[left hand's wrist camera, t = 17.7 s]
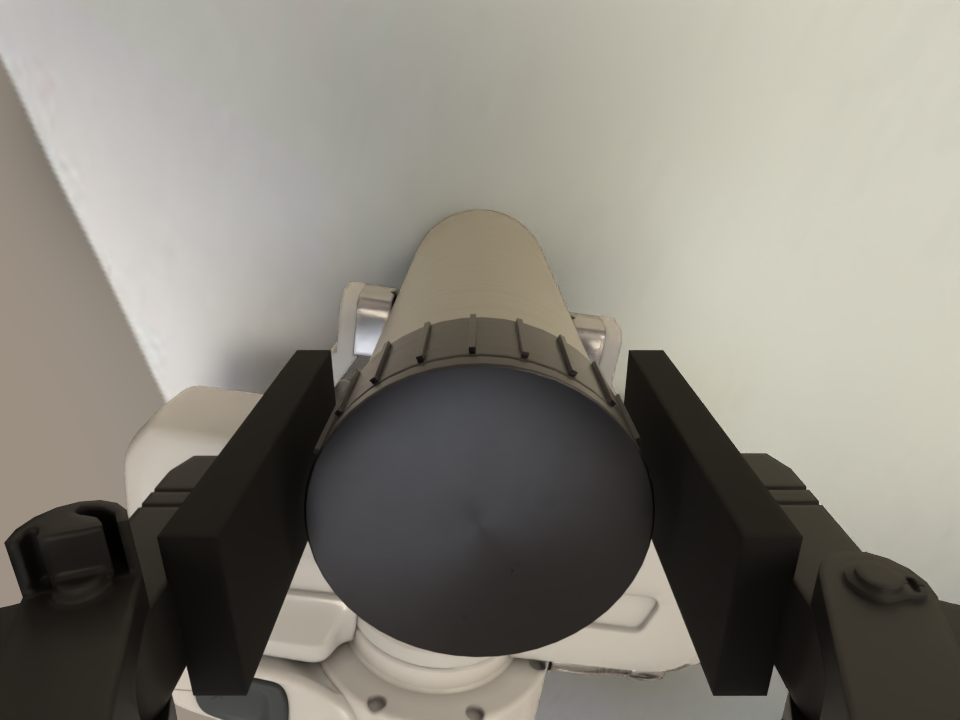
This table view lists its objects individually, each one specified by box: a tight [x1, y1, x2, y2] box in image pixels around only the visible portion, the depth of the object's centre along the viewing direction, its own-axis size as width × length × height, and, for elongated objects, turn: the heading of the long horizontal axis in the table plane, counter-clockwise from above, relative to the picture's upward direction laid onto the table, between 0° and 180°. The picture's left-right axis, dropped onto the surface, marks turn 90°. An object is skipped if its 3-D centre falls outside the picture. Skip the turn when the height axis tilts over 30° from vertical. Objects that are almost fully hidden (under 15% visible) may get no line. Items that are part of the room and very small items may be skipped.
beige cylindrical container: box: [369, 210, 590, 361], centre depth 18 cm, size 5×5×16 cm
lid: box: [304, 314, 655, 657], centre depth 11 cm, size 6×6×2 cm
